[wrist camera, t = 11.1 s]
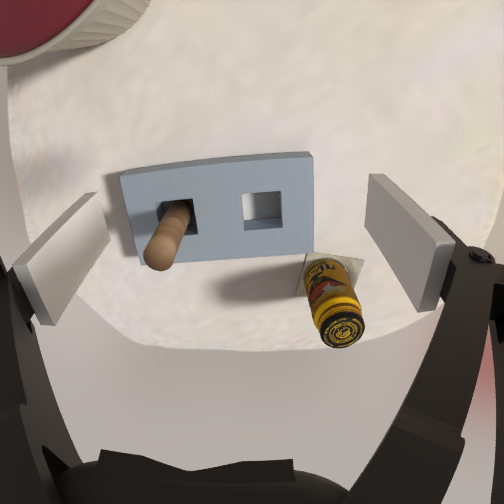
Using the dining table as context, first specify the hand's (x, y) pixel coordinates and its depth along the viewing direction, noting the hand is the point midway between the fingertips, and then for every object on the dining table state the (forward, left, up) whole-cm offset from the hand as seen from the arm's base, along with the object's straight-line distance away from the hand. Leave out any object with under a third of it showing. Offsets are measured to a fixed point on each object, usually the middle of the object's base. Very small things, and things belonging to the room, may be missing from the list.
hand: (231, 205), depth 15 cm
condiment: (+21, +11, -24) cm, 34 cm away
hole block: (+9, -3, -24) cm, 26 cm away
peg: (+9, -8, -24) cm, 27 cm away
